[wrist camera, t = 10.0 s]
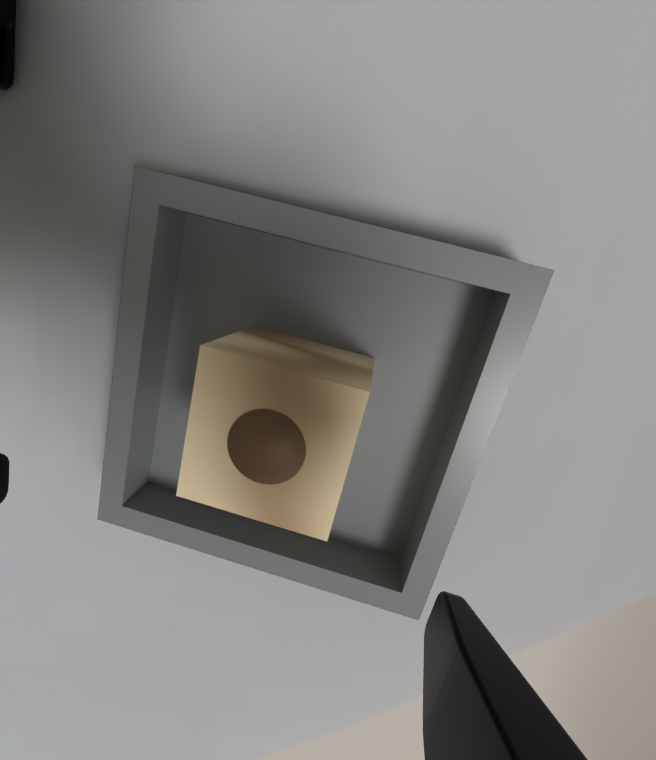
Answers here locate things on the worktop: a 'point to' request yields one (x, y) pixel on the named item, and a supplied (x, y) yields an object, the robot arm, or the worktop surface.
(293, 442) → the maple block
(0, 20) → the robot arm
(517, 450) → the worktop surface
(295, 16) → the worktop surface
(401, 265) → the tray
